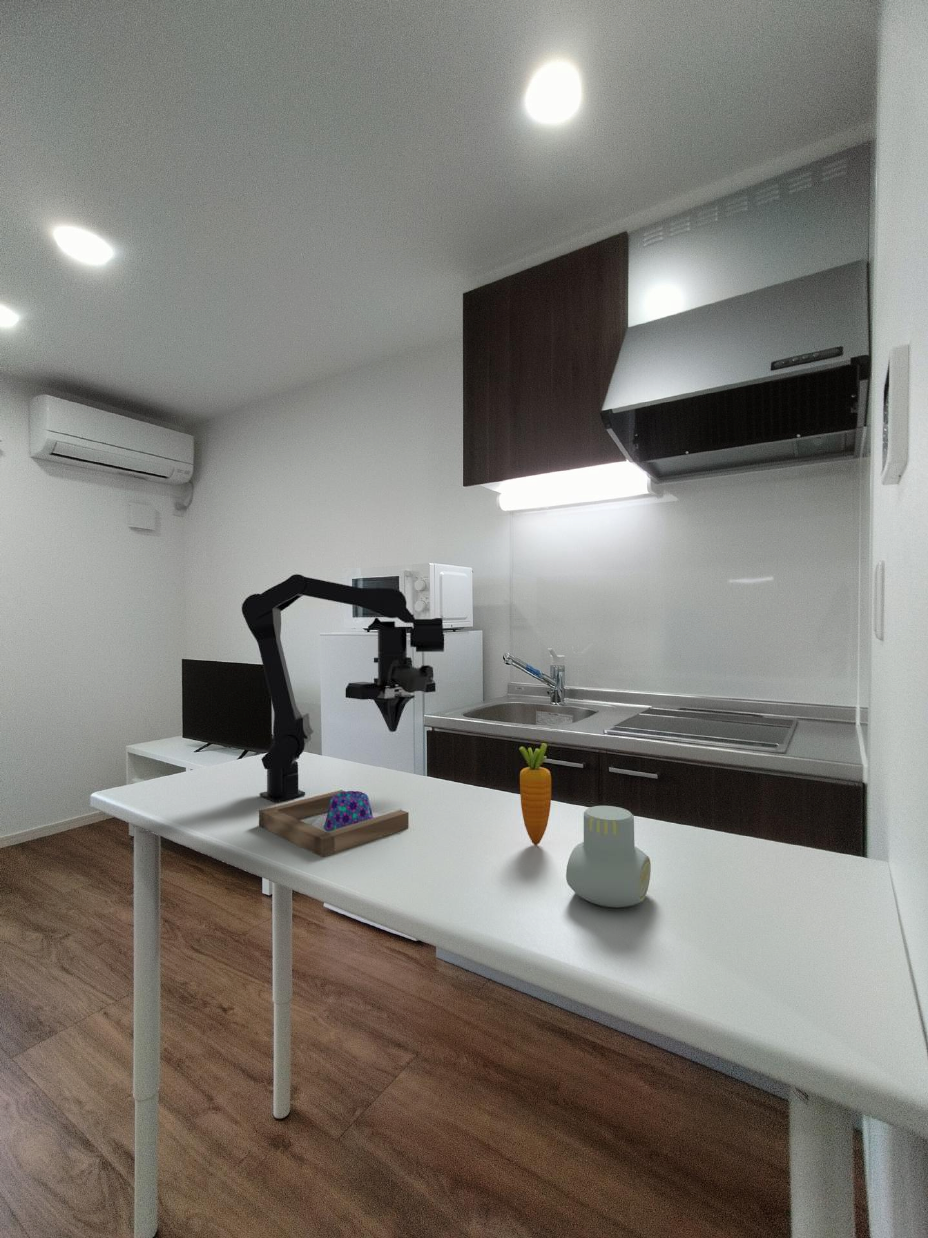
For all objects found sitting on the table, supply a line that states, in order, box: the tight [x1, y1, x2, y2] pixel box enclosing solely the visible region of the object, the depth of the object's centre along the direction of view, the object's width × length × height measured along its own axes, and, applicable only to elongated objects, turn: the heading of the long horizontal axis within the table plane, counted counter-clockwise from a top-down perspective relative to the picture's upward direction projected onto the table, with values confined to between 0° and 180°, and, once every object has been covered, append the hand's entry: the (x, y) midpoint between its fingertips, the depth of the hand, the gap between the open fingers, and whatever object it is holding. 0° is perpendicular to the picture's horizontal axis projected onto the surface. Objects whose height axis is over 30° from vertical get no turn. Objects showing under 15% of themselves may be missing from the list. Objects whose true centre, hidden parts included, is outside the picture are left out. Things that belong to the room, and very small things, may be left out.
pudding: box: [311, 790, 382, 832], centre depth 93 cm, size 12×12×5 cm
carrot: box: [518, 742, 552, 846], centre depth 84 cm, size 5×5×15 cm
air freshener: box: [565, 805, 652, 909], centre depth 68 cm, size 11×8×10 cm
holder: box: [258, 789, 410, 858], centre depth 92 cm, size 19×16×2 cm
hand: (392, 731), depth 112 cm, fingers closed
